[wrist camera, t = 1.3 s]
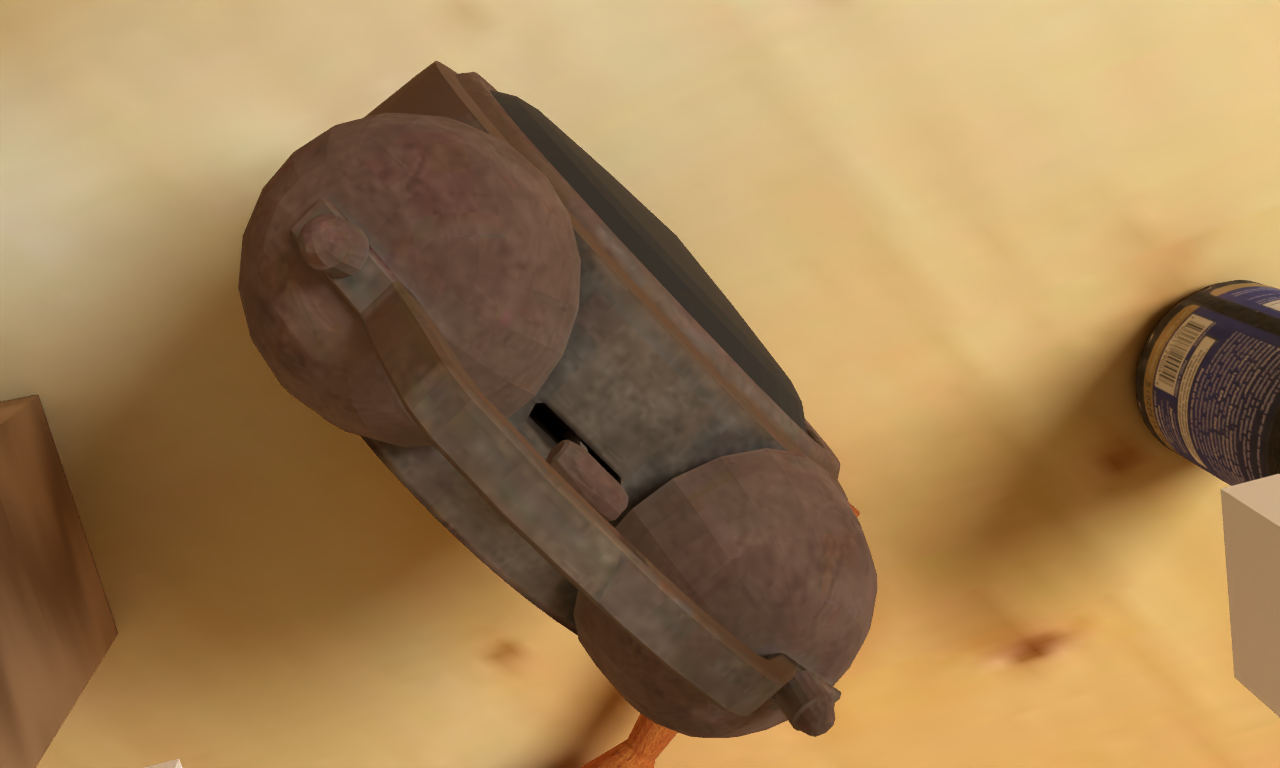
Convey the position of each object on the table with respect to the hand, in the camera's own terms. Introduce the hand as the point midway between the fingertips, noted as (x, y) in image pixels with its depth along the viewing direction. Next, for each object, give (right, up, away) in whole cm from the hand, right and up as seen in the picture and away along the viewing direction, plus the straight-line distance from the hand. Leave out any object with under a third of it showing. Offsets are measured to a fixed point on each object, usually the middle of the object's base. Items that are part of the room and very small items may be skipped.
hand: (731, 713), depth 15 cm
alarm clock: (-4, +7, +22) cm, 23 cm away
